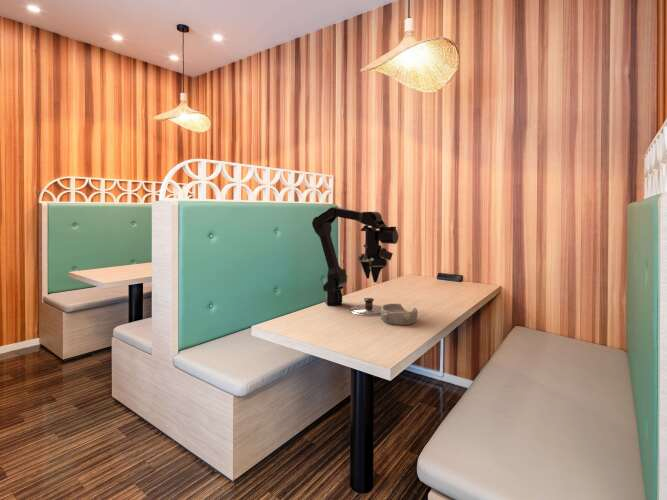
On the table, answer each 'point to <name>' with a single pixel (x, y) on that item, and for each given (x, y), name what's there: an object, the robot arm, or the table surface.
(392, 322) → the dish
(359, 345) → the table surface
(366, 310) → the lid
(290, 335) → the table surface
